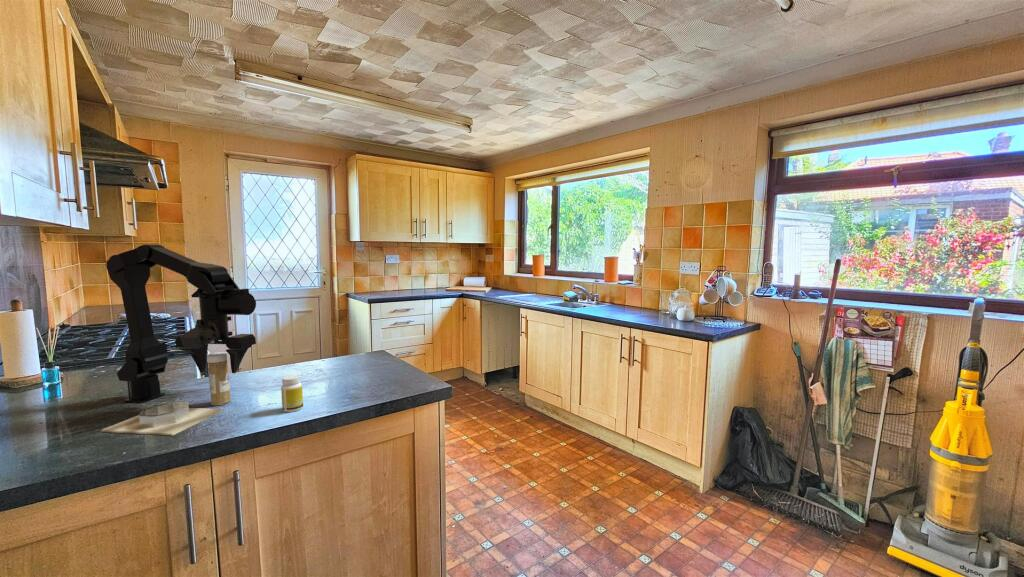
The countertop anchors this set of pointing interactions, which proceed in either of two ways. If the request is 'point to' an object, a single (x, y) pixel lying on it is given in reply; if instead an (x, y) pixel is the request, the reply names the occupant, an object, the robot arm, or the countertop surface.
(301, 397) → the supplement bottle
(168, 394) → the countertop surface
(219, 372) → the sprinkles bottle
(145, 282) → the robot arm
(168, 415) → the socket collar
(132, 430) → the dock plate
